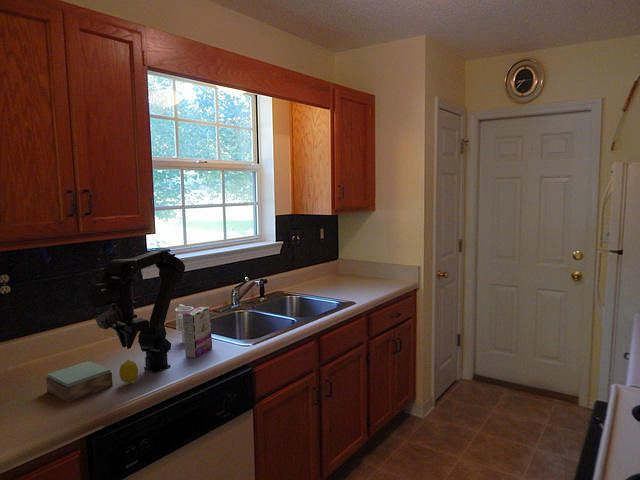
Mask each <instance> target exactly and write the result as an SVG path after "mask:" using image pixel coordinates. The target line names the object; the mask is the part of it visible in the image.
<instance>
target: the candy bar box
mask: <svg viewBox="0 0 640 480" xmlns="http://www.w3.org/2000/svg"><path fill="white" fill-rule="evenodd" d="M211 323H212V321H211V308H210V306H198V307H196V308H194V310H191V311H189V312H187V313H185V314H183V324H184V338H185V343H184V351H185V357H186V358H193V359H196V358H199V357H200V356H202V355H204V354H206V353H207V352H208V351H210V350H212V349H213V340H212V339H213V338H212V324H211Z"/></svg>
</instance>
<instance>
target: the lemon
mask: <svg viewBox="0 0 640 480" xmlns="http://www.w3.org/2000/svg"><path fill="white" fill-rule="evenodd" d="M138 375H139V368H138V365H137V363H136V362H135V361H134V360H130V359H126V360H125V361H124V362H122V364H121V365H120V367H119V377H120V379H121V381H122V382H123V383H126V384H128V385H131V384H132V382H133V383H134V381H136V380H137V378H138Z"/></svg>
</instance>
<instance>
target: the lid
mask: <svg viewBox="0 0 640 480" xmlns="http://www.w3.org/2000/svg"><path fill="white" fill-rule="evenodd" d="M110 372H111V369H110V368H107V367H105V366H102V365H100V364H97V363H95V362H93V361H90V360H87V361H84V362H80V363H79V364H75V365H72V366H71V365H70V366H68V367H65V368H62V369H59V370H56V371H52V372H49V373H47V375H46V376H47V378H50V379H52V380H54V381H56V382H58V383H60V384H63V385H65V386H67V387H70V386H73V385H76V384H79V383H82V382H85V381H87V380H90V379H93V378H96V377H99V376H102V375H105V374H107V373H110Z"/></svg>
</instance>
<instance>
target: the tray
mask: <svg viewBox="0 0 640 480" xmlns="http://www.w3.org/2000/svg"><path fill="white" fill-rule="evenodd" d="M112 373H113V372H112V371H110V373H107V374H105V375H102V376H99V377H96V378H93V379H90V380H87V381H85V382H82V383H79V384H76V385H73V386H70V387H67V386H65V385H63V384H60V383H58V382H56V381H54V380H52V379H50V378H48V377H46V378H45V384H46V392H47V393H48V394H50V395H52V396H54V397H56V398H58V399H59V400H61V401H63V402H65V403H67V404H69V403H71V402H74V401H77V400H79V399H82V398H85V397H87V396H89V395H93V394H96V393H98V392H101V391H103V390H106V389H108V388H112V387H114V385H113V384H114V383H113V374H112Z"/></svg>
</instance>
